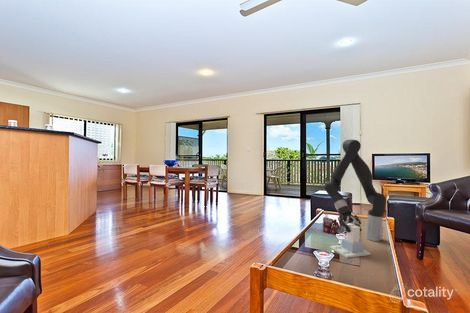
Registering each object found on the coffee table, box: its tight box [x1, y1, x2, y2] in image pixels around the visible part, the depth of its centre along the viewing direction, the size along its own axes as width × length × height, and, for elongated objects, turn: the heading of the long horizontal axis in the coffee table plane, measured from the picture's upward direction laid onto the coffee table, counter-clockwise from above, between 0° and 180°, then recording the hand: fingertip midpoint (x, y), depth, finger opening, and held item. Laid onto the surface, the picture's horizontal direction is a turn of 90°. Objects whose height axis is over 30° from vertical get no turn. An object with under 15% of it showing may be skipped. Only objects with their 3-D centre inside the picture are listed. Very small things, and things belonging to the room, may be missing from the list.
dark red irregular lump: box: [322, 217, 341, 235], centre depth 186 cm, size 7×12×10 cm, turn 54°
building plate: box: [329, 238, 371, 259], centre depth 153 cm, size 18×14×6 cm
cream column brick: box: [345, 224, 361, 243], centre depth 153 cm, size 5×5×10 cm
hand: (355, 231), depth 152 cm, fingers open, 8 cm apart
